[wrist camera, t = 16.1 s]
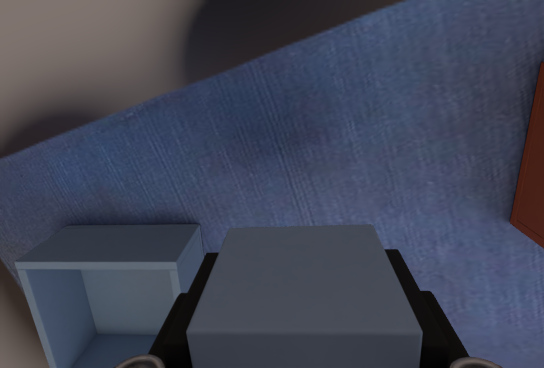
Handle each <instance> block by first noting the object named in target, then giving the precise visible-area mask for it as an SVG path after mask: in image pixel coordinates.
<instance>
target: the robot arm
mask: <svg viewBox="0 0 544 368" xmlns="http://www.w3.org/2000/svg"><path fill="white" fill-rule="evenodd" d="M385 252H386V254H387V257H388V259H389V261H390V263H391V265H392V267H393V270H394V272H395V274H396V276H397V278H398V280H399V282H400V285H401V287H402V289H403V291H404V293H405V295H406V298H407V300H408V302H409V304H410V306H411V308H412V310H413V313H414V315H415V317H416V319H417V321H418V323H419V326H420V328H421V330H422V332H423V335H422V344H421V354H420V364H419V368H502V367H501V366H499V365H497V364H495V363H493V362H491V361H488V360H485V359H481V358H476V357H470V356H469V355H468V353H467V351H466V350H465V348H464V346H463V345H462V343H461V341H460V339H459V338H458V336H457V334H456V333H455V331H454V329H453V327H452V326H451V324H450V322H449V321H448V319H447V317H446V315H445V314H444V312H443V310H442V309H441V307H440V305H439V303H438V302H437V300H436V298H435V297H434V295H433V294H432V292H430V291H420V289H419V288H418V286H417V284H416V282H415V280H414V278H413V276H412V275H411V273H410V271H409V269H408V267H407V265H406V263H405V262H404V260H403V258H402V256H401V254H400V252H399V251H398V250H397V249H387V250H385ZM218 254H219V253H207V254H206V255H205V257H204V259H203V261H202V264H201V266H200V268H199V270H198V272H197V274H196V276H195V278H194V280H193V282H192V284H191V286H190V288H189V290H188V293H180V294H179V295H178V297H177V298H176V300H175V302H174V304H173V306H172V308H171V310H170V312H169V314H168V316H167V318H166V319H165V321H164V323H163V325H162V327H161V329H160V331H159V333H158V335H157V337H156V339H155V341H154V343H153V345H152V347H151V348H150V350H149V352H148V354H141V355H136V356H133V357H130V358H128V359H126V360H124V361H122V362H120V363H119V364H118V365H116V366H115V367H114V368H193V367H192V361H191V356H190V350H189V345H188V339H187V333H186V331H187V329H188V326H189V324H190V321H191V319H192V317H193V314H194V312H195V309H196V307H197V305H198V302H199V300H200V297H201V295H202V293H203V290H204V288H205V285H206V283H207V281H208V278H209V276H210V273H211V271H212V269H213V266H214V264H215V261H216V259H217V257H218Z"/></svg>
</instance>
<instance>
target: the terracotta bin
mask: <svg viewBox="0 0 544 368" xmlns="http://www.w3.org/2000/svg"><path fill="white" fill-rule="evenodd" d="M510 224H512V225H513V226H515V227H516V228H517V229H518V230H520V231H521V232H522V233H524V234H525V235H526V236H528V237H529V238H530V239H532V240H533V241H534V242H536V243H537V244H538V245H540V246H541V247H542V248H544V62H541V66H540V71H539V76H538V81H537V86H536V92H535V97H534V102H533V107H532V112H531V117H530V122H529V127H528V132H527V138H526V143H525V148H524V153H523V158H522V163H521V168H520V173H519V178H518V183H517V189H516V194H515V199H514V204H513V209H512V214H511V219H510Z"/></svg>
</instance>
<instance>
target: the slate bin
mask: <svg viewBox="0 0 544 368" xmlns="http://www.w3.org/2000/svg"><path fill="white" fill-rule="evenodd" d="M203 259H204V252H203V245H202V237H201V229H200V224H168V225H68V226H66V227H65V228H63V229H62V230H60V231H59V232H57V233H56V234H54V235H53V236H51V237H50V238H48V239H47V240H46V241H44V242H43V243H41V244H40V245H38V246H37V247H35V248H34V249H32V250H31V251H30V252H28V253H27V254H25V255H24V256H22V257H21V258H19V259H18V260H16V261H15V262H14V263H15V266H16V269H17V271H18V274H19V277H20V280H21V283H22V286H23V289H24V292H25V295H26V298H27V301H28V304H29V307H30V310H31V313H32V316H33V319H34V322H35V325H36V328H37V331H38V334H39V337H40V340H41V343H42V346H43V349H44V352H45V355H46V358H47V361H48V364H49V367H50V368H114V367H115V366H116V365H118V364H119V363H120V362H122V361H124V360H126V359H128V358H130V357H133V356H136V355H141V354H148V352H149V350H150V348H151V347H152V345H153V343H154V341H155V339H156V337H157V335H158V333H159V331H160V329H161V327H162V325H163V323H164V321H165V319H166V318H167V316H168V314H169V312H170V310H171V308H172V306H173V304H174V302H175V300H176V298H177V297H178V295H179V294H180V293H188V290H189V288H190V286H191V284H192V282H193V280H194V278H195V276H196V274H197V272H198V270H199V268H200V266H201V264H202V261H203Z"/></svg>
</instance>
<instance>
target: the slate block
mask: <svg viewBox="0 0 544 368" xmlns="http://www.w3.org/2000/svg"><path fill="white" fill-rule="evenodd" d="M186 333H187V339H188V345H189V350H190V356H191V361H192V367H193V368H419V364H420V354H421V344H422V335H423V332H422V330H421V328H420V326H419V323H418V321H417V319H416V317H415V315H414V313H413V310H412V308H411V306H410V304H409V302H408V300H407V298H406V295H405V293H404V291H403V289H402V287H401V285H400V282H399V280H398V278H397V276H396V274H395V272H394V270H393V267H392V265H391V263H390V261H389V259H388V257H387V254H386V252H385V250H384V248H383V246H382V244H381V242H380V239H379V237H378V235H377V233H376V231H375V229H374V226H373V225H331V226H291V227H251V228H230V229H229V230H228V233H227V235H226V237H225V240H224V242H223V245H222V247H221V249H220V252H219V254H218V257H217V259H216V261H215V264H214V266H213V269H212V271H211V273H210V276H209V278H208V281H207V283H206V285H205V288H204V290H203V293H202V295H201V297H200V300H199V302H198V305H197V307H196V309H195V312H194V314H193V317H192V319H191V321H190V324H189V326H188V329H187V331H186Z"/></svg>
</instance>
